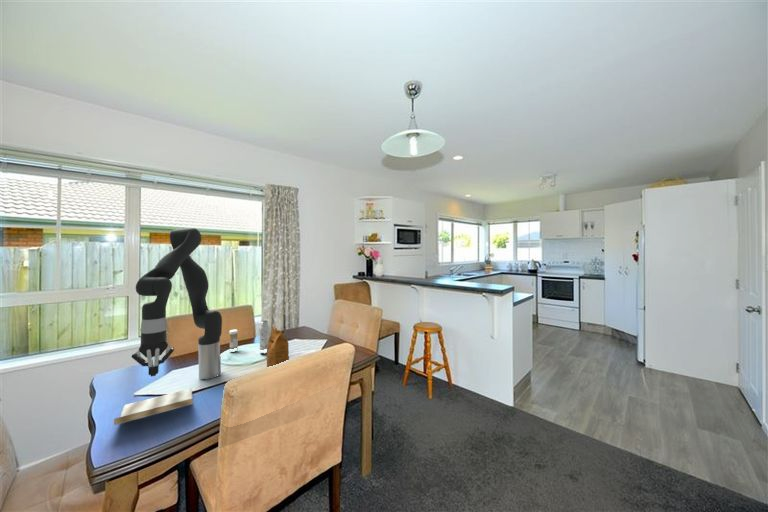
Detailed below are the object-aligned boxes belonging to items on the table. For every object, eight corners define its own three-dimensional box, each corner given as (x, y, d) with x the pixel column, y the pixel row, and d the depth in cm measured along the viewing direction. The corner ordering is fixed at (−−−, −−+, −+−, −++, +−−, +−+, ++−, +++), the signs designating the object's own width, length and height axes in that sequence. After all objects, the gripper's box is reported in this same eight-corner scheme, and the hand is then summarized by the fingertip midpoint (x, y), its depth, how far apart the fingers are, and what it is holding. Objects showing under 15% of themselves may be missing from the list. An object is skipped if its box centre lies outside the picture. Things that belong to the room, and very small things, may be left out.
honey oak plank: (192, 403, 115) (192, 398, 116) (193, 403, 106) (193, 398, 107) (119, 423, 102) (120, 417, 102) (113, 425, 93) (114, 418, 94)
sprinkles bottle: (228, 351, 174) (228, 330, 173) (236, 349, 177) (235, 328, 177) (231, 353, 171) (231, 331, 170) (239, 351, 174) (238, 330, 174)
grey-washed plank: (191, 392, 124) (191, 388, 124) (192, 402, 116) (192, 398, 116) (124, 409, 111) (124, 404, 111) (120, 422, 103) (120, 417, 103)
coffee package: (282, 362, 157) (282, 324, 156) (291, 370, 147) (290, 329, 147) (264, 367, 150) (263, 327, 150) (271, 375, 141) (271, 332, 140)
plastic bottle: (273, 352, 173) (272, 320, 172) (265, 356, 166) (264, 323, 166) (264, 351, 175) (264, 319, 174) (256, 354, 169) (256, 322, 168)
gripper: (176, 325, 112) (175, 368, 112) (132, 330, 105) (131, 376, 105) (175, 329, 106) (174, 374, 106) (128, 334, 98) (128, 383, 98)
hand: (153, 375), depth 105 cm, fingers closed
